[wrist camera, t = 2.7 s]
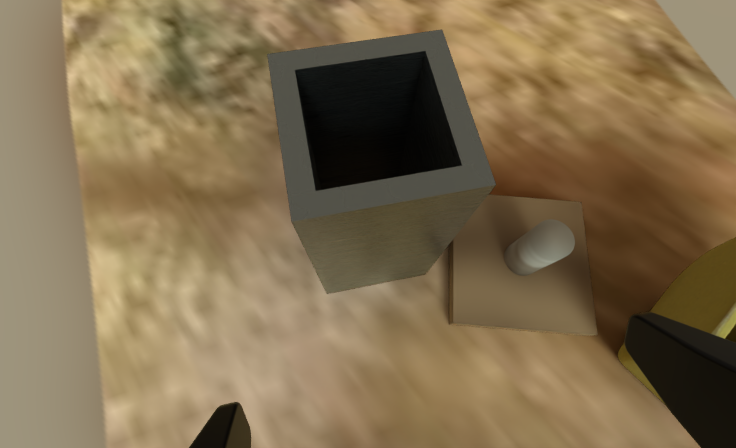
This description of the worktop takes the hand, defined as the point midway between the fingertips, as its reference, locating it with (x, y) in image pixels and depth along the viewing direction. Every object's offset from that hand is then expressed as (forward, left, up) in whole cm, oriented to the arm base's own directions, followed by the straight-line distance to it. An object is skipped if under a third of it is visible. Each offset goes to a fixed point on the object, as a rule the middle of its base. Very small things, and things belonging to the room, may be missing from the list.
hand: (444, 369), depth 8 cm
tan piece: (+8, -5, -13) cm, 16 cm away
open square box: (+6, +4, -13) cm, 15 cm away
